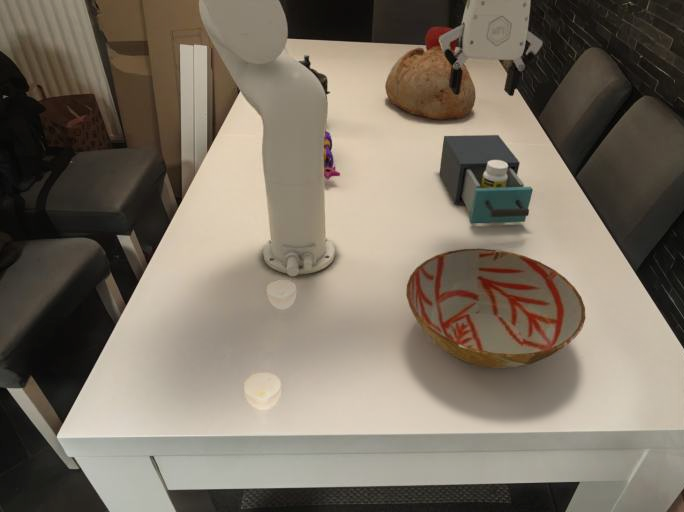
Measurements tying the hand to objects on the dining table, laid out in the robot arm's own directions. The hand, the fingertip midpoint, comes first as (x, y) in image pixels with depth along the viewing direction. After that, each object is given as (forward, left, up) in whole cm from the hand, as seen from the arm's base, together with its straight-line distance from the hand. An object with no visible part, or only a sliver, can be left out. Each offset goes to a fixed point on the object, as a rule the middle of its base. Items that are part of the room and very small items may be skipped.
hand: (481, 92), depth 94 cm
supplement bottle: (+1, -6, -22) cm, 23 cm away
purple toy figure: (+26, +30, -24) cm, 47 cm away
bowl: (-37, +6, -24) cm, 44 cm away
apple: (+107, -20, -24) cm, 112 cm away
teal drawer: (0, -6, -23) cm, 24 cm away
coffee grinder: (+49, +29, -24) cm, 62 cm away
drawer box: (+12, -6, -24) cm, 28 cm away
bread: (+63, -7, -24) cm, 68 cm away
